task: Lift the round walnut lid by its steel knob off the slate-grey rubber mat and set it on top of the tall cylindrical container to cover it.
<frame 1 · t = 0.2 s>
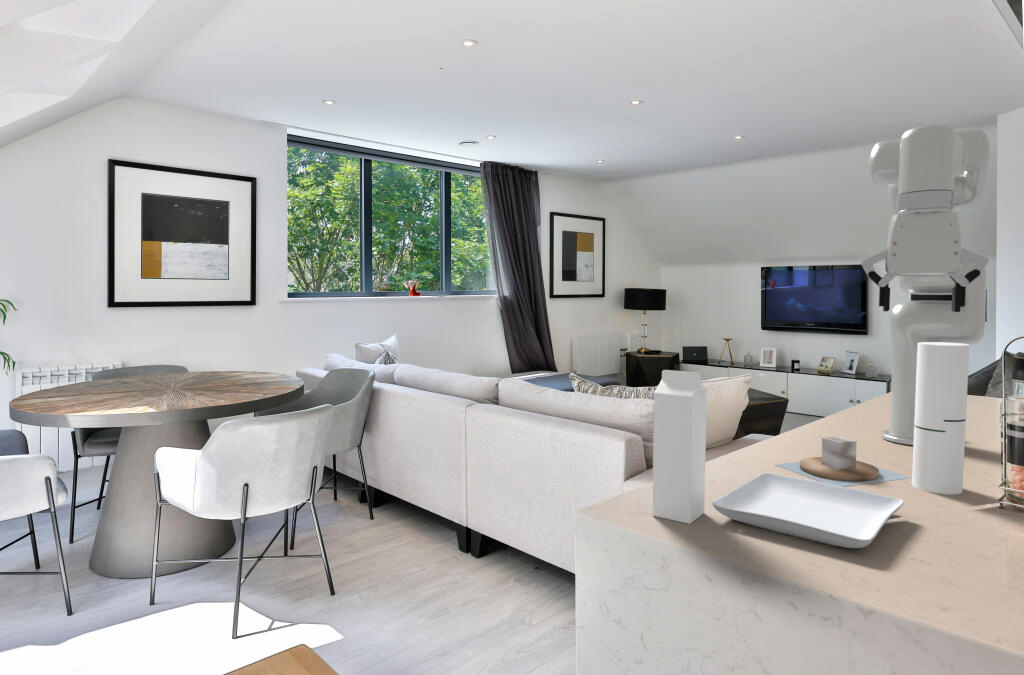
hand: (920, 311, 103), 30 cm above the kitchen island, tool pointing down, fingers open, 9 cm apart
salad plate: (807, 523, 94), on the kitchen island
mat: (840, 473, 117), on the kitchen island
cylindrical container: (936, 491, 107), on the kitchen island
milk: (678, 515, 96), on the kitchen island
lid: (838, 471, 117), resting on mat
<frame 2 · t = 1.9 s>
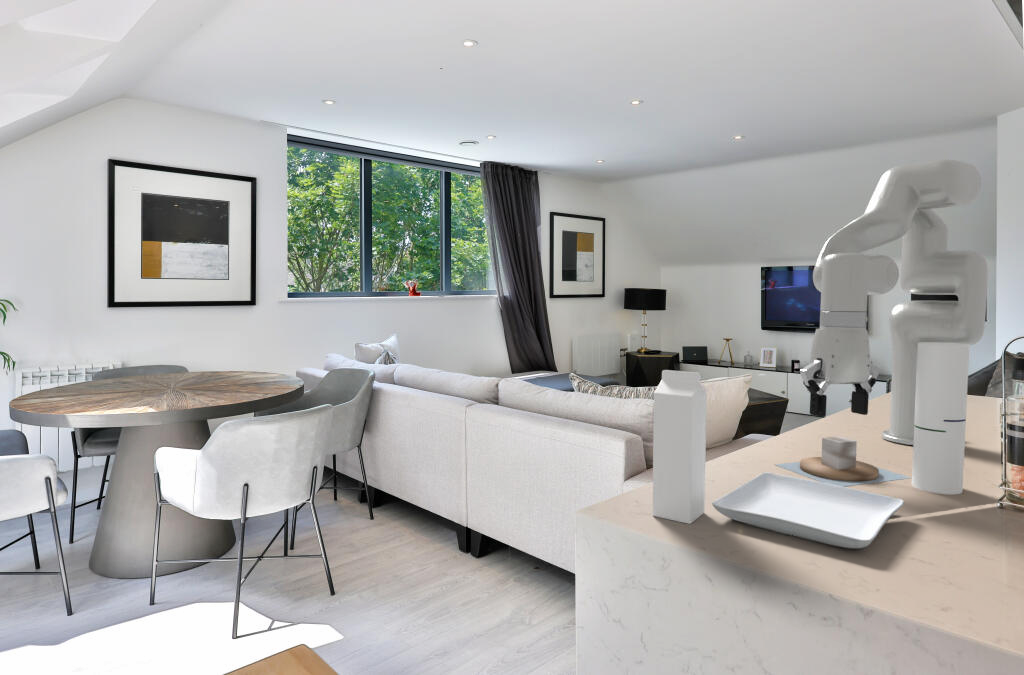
hand: (838, 414, 116), 11 cm above the kitchen island, tool pointing down, fingers open, 9 cm apart
nothing on the kitchen island moved.
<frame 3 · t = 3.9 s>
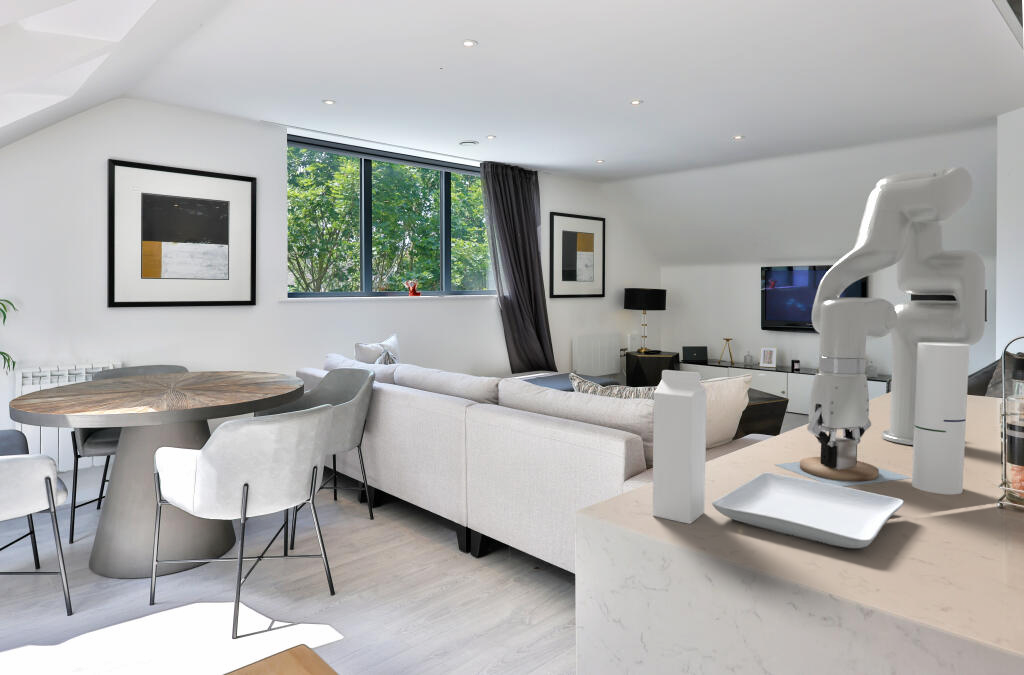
hand: (838, 463, 117), 2 cm above the kitchen island, tool pointing down, fingers closed on lid, 4 cm apart
lid: (838, 471, 117), resting on mat, touching gripper
everything else where it was.
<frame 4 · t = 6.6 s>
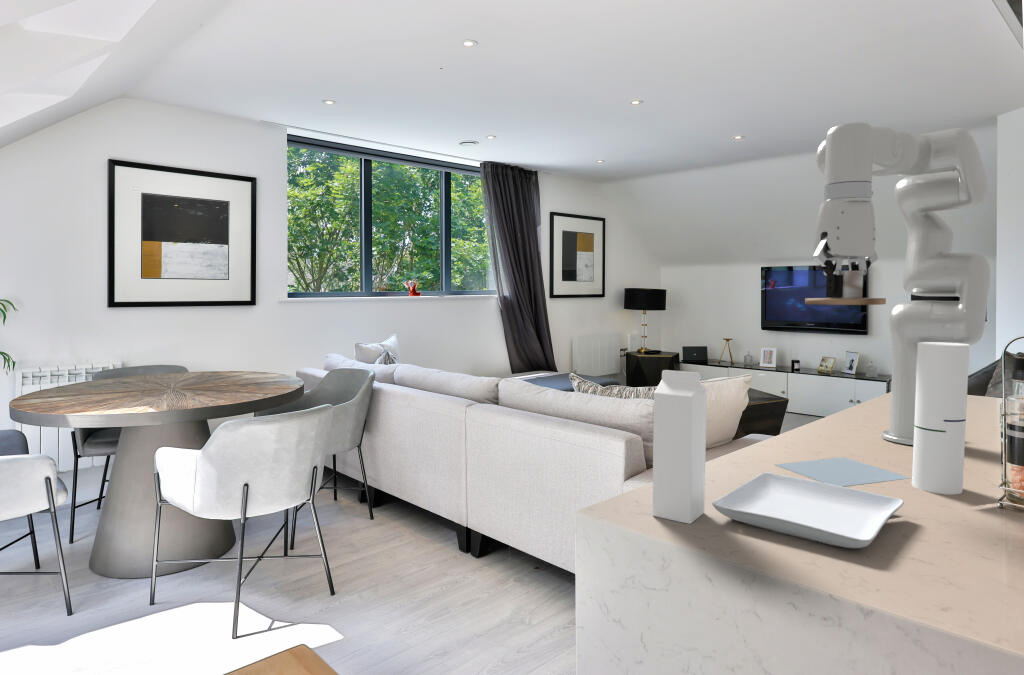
hand: (844, 296, 115), 33 cm above the kitchen island, tool pointing down, fingers closed on lid, 4 cm apart
lid: (844, 304, 115), point 32 cm above the kitchen island, touching gripper
everything else where it was.
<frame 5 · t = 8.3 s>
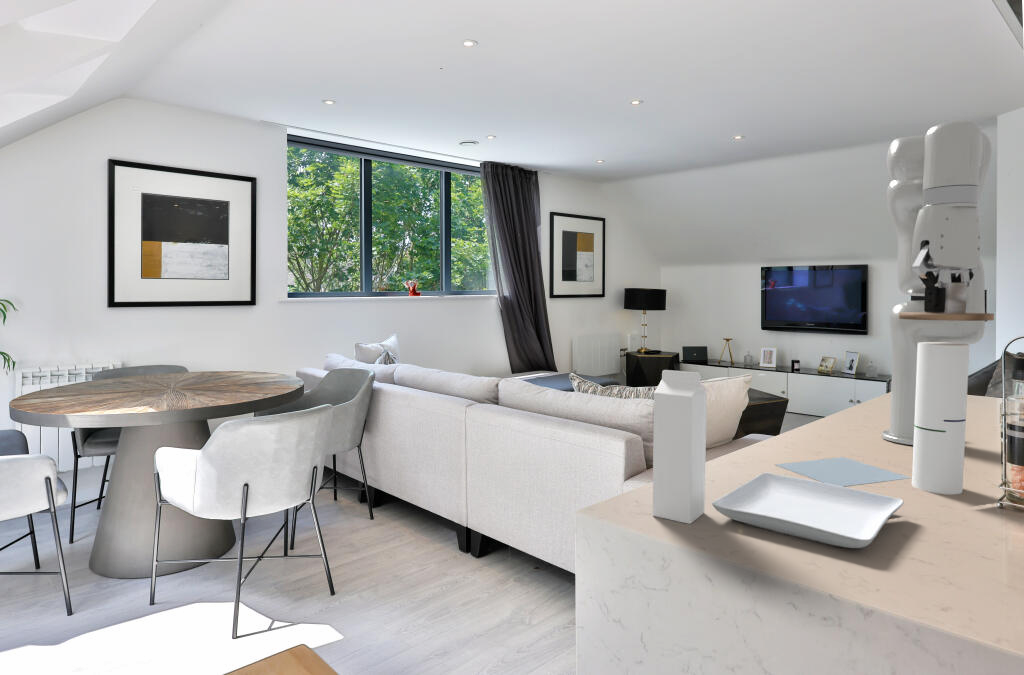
hand: (944, 310, 105), 31 cm above the kitchen island, tool pointing down, fingers closed on lid, 4 cm apart
lid: (944, 319, 105), point 29 cm above the kitchen island, touching gripper
everything else where it was.
when the fingers open (28 cm above the kitchen island, at t = 9.4 s): lid drops 1 cm, resting on cylindrical container.
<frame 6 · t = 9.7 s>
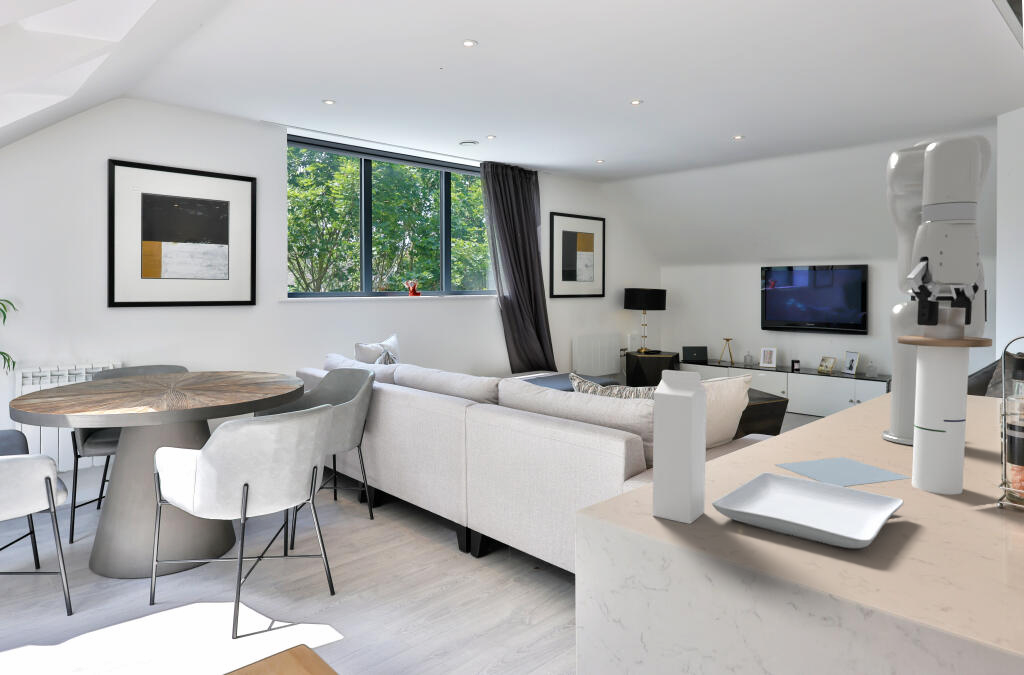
hand: (944, 324, 105), 28 cm above the kitchen island, tool pointing down, fingers open, 6 cm apart
cylindrical container: (936, 491, 107), on the kitchen island, touching lid
lid: (943, 343, 105), point 25 cm above the kitchen island, touching cylindrical container
everything else where it was.
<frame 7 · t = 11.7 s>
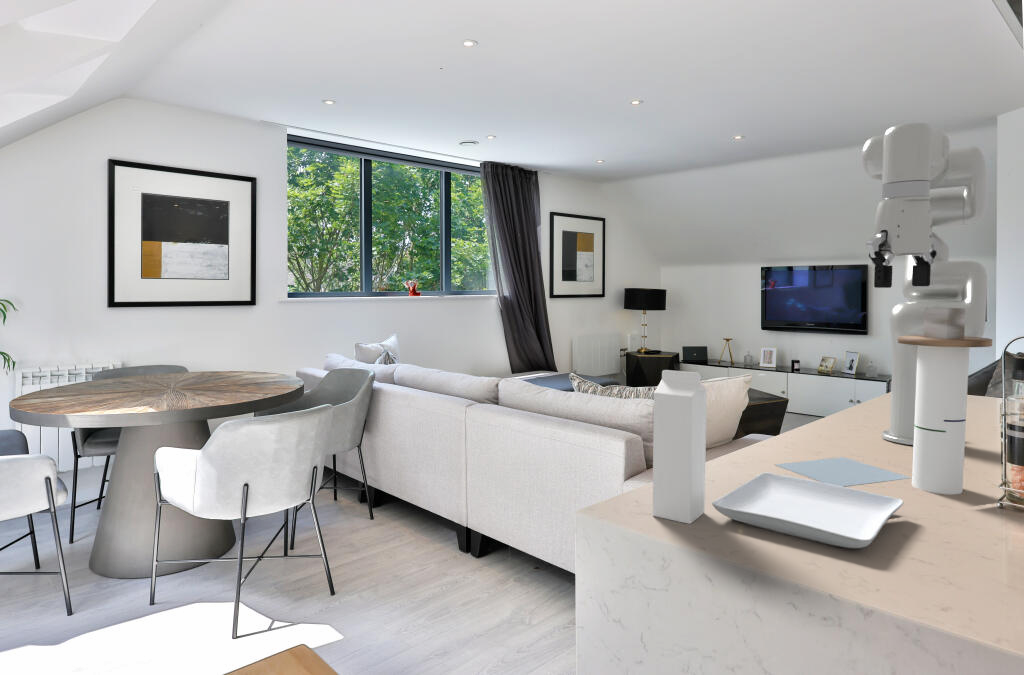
hand: (902, 286, 118), 35 cm above the kitchen island, tool pointing down, fingers open, 9 cm apart
nothing on the kitchen island moved.
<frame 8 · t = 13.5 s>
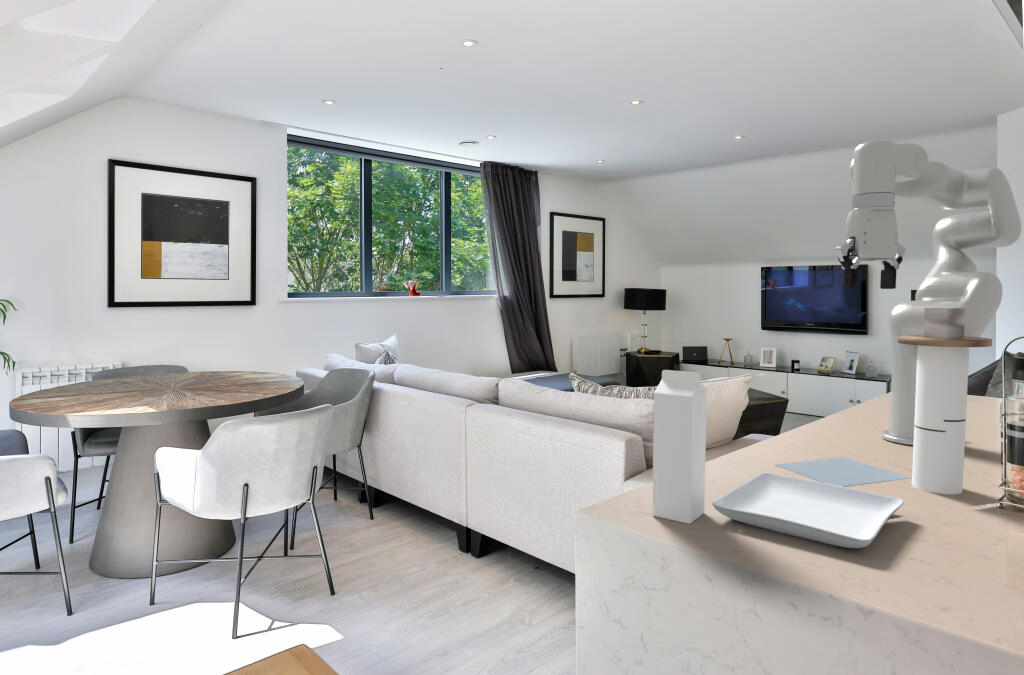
hand: (869, 288, 129), 34 cm above the kitchen island, tool pointing down, fingers open, 9 cm apart
nothing on the kitchen island moved.
at the end: lid 0.0 cm off-centre on the cylindrical container, point 25.2 cm above the cylindrical container's base; the gripper is holding nothing; cylindrical container tilted 0° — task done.
